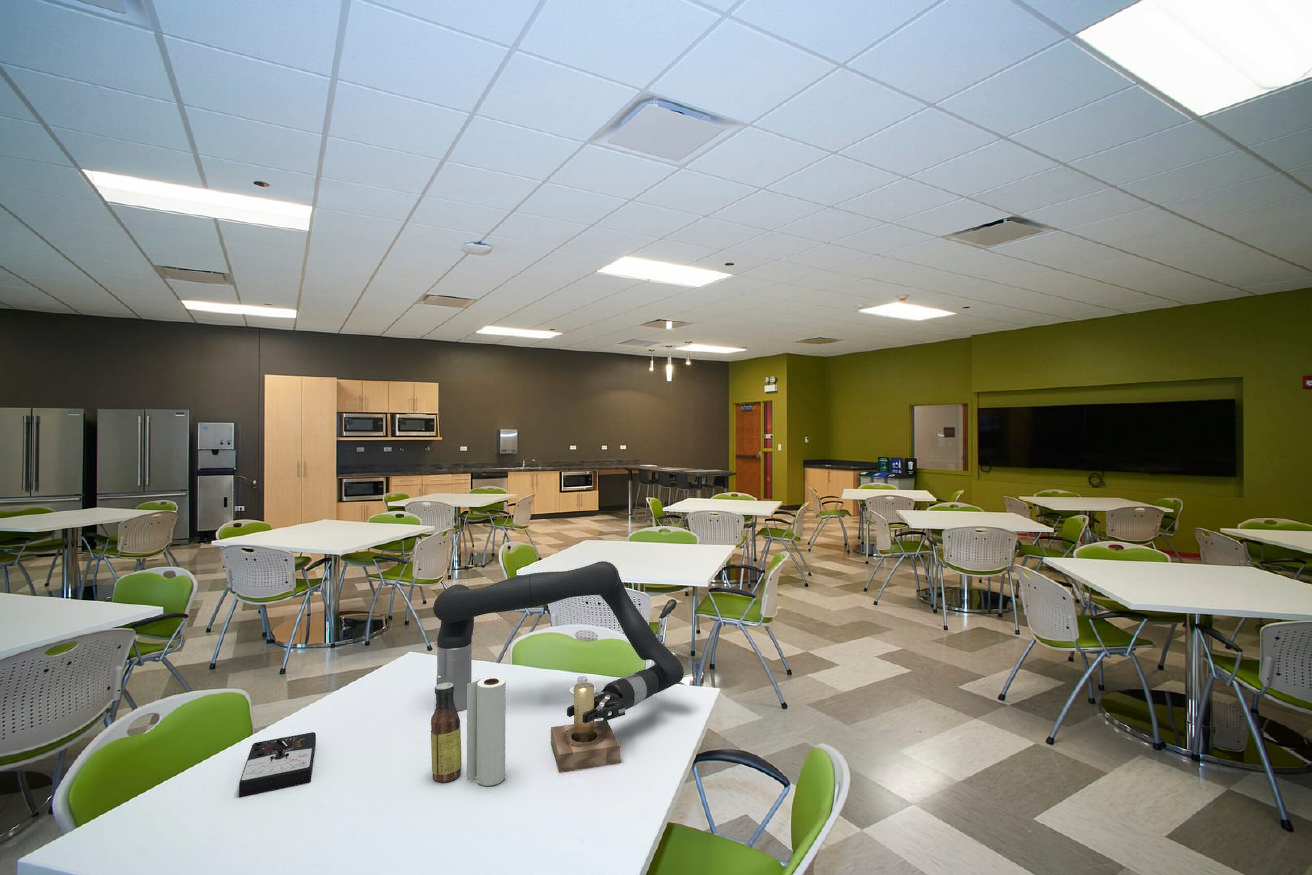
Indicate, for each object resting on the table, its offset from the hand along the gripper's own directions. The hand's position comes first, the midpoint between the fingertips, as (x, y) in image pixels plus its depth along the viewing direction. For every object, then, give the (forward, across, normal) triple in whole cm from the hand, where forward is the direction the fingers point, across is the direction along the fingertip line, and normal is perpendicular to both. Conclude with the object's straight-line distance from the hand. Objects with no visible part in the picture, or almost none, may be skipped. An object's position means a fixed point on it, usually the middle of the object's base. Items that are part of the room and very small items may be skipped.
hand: (575, 715), depth 144 cm
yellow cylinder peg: (-3, 0, +8) cm, 8 cm away
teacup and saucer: (-25, -28, +11) cm, 39 cm away
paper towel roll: (+19, -8, +10) cm, 22 cm away
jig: (-3, 0, +10) cm, 10 cm away
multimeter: (+46, -47, +10) cm, 67 cm away
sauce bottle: (+24, -16, +10) cm, 30 cm away
